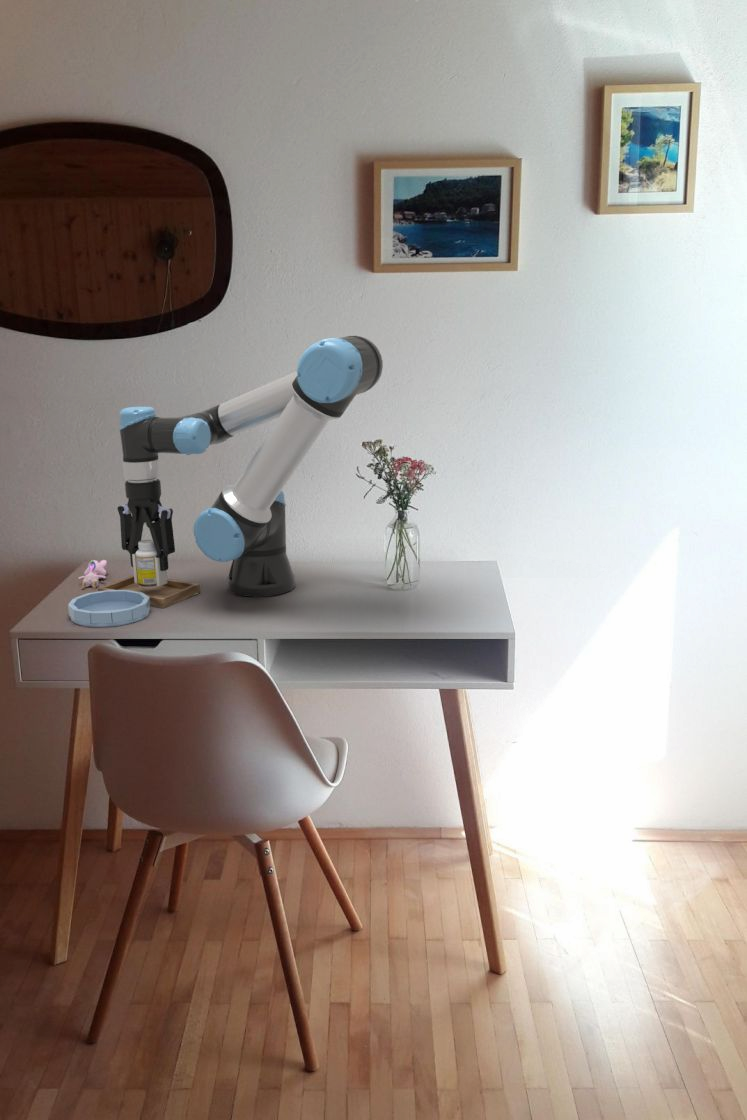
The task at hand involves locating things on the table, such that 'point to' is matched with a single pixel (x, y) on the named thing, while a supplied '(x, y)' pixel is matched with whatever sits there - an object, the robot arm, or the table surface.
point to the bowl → (109, 608)
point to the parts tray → (158, 591)
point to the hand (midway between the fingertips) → (151, 582)
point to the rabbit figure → (94, 573)
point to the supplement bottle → (146, 565)
